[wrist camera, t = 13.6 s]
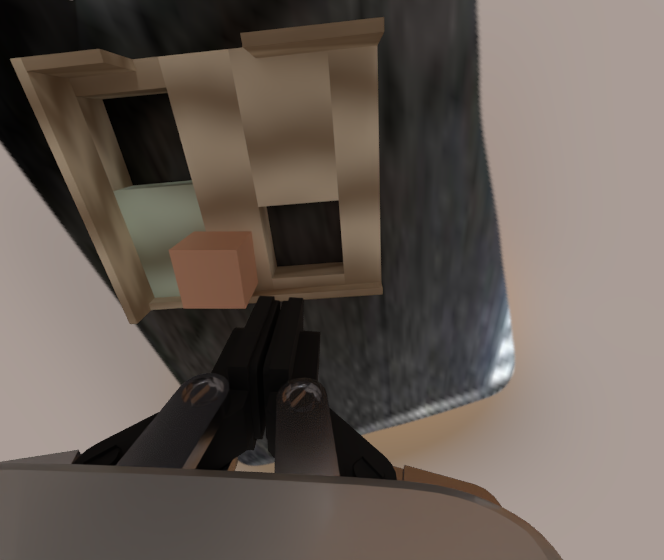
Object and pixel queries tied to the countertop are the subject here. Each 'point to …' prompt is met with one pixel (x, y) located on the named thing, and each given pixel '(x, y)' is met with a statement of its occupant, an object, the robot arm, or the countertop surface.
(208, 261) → the block
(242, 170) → the wooden cubby shelf
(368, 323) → the countertop surface
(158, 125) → the countertop surface
